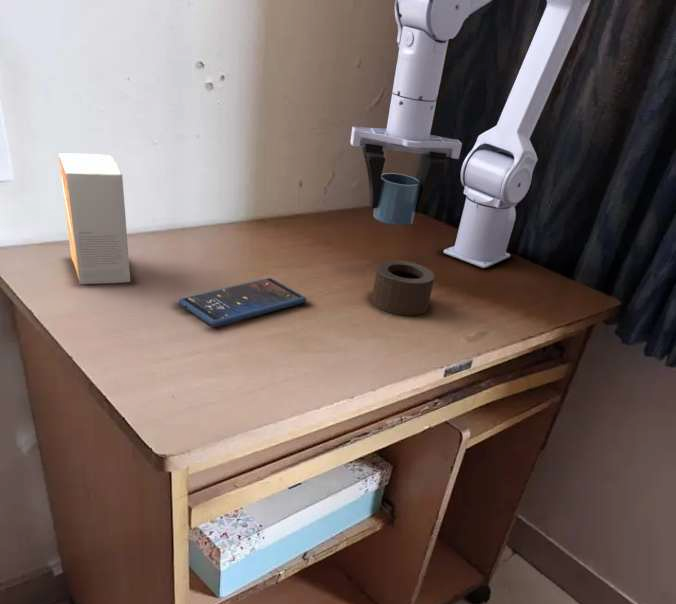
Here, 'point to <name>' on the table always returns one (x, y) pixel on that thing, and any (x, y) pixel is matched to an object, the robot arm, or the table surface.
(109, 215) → the small box
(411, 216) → the cup
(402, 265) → the brown short cylinder
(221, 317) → the smartphone
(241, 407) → the table surface
